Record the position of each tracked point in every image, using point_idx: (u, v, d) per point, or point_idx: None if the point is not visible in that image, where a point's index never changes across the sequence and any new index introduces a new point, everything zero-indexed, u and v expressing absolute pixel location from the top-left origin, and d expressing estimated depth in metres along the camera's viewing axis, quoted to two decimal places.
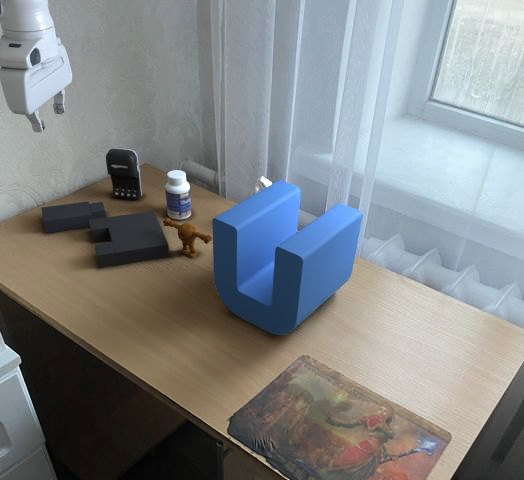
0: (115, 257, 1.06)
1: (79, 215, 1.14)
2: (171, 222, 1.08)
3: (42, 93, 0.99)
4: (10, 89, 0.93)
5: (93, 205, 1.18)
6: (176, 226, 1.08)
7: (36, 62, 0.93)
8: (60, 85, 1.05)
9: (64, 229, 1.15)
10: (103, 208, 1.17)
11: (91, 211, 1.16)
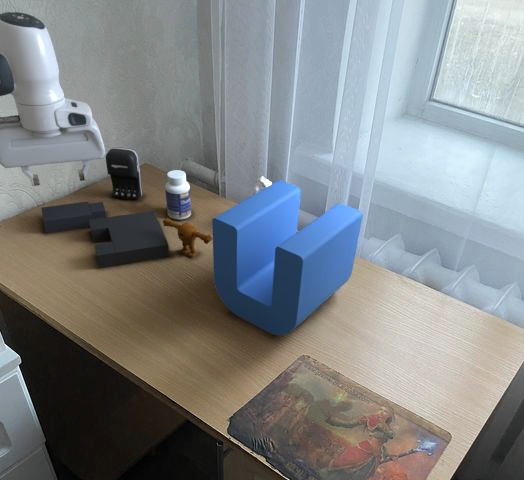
0: (115, 257, 1.06)
1: (79, 215, 1.14)
2: (171, 222, 1.08)
3: None
4: (100, 135, 1.07)
5: (93, 205, 1.18)
6: (176, 226, 1.08)
7: None
8: None
9: (64, 229, 1.15)
10: (103, 208, 1.17)
11: (91, 211, 1.16)
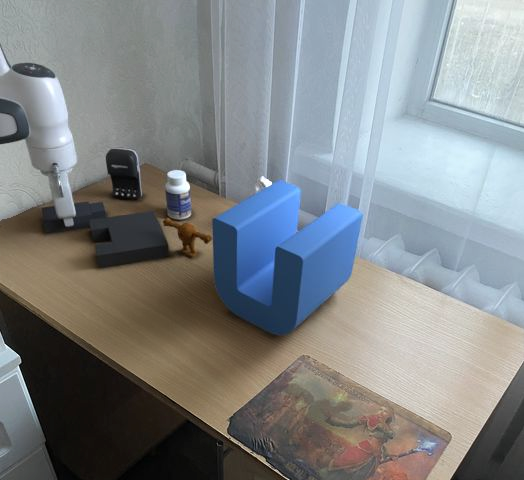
0: (115, 257, 1.06)
1: (79, 215, 1.14)
2: (171, 222, 1.08)
3: None
4: None
5: (93, 205, 1.18)
6: (176, 226, 1.08)
7: None
8: None
9: (64, 229, 1.15)
10: (103, 208, 1.17)
11: (91, 211, 1.16)
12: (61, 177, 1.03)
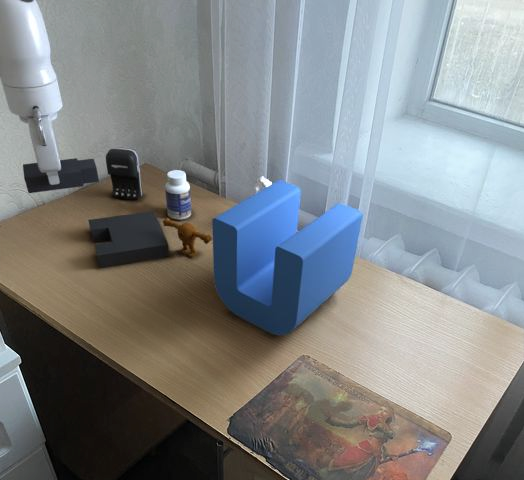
0: (115, 257, 1.06)
1: (66, 172, 0.99)
2: (171, 222, 1.08)
3: None
4: None
5: (82, 161, 1.03)
6: (176, 226, 1.08)
7: None
8: None
9: (49, 188, 1.00)
10: (94, 165, 1.02)
11: (80, 168, 1.01)
12: (43, 122, 0.89)
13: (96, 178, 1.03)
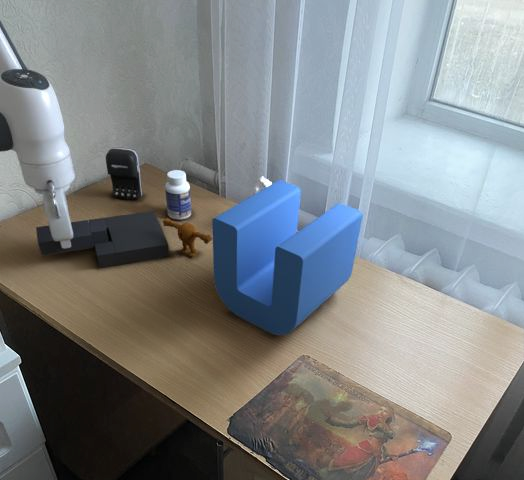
0: (115, 257, 1.06)
1: (77, 236, 1.04)
2: (171, 222, 1.08)
3: None
4: None
5: (93, 224, 1.08)
6: (176, 226, 1.08)
7: None
8: None
9: (61, 251, 1.05)
10: (104, 227, 1.07)
11: (91, 231, 1.06)
12: (57, 196, 0.93)
13: (106, 240, 1.08)
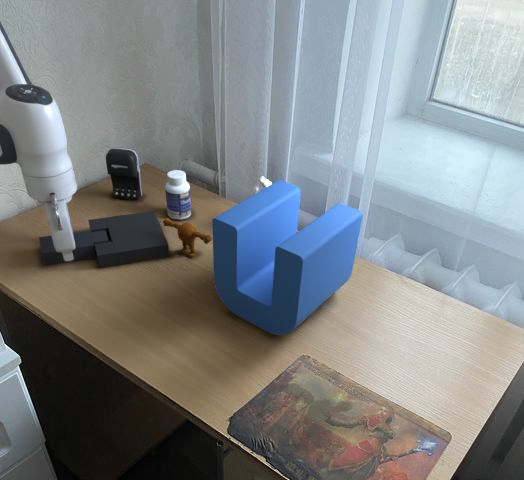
0: (115, 257, 1.06)
1: (80, 246, 1.06)
2: (171, 222, 1.08)
3: None
4: None
5: (95, 234, 1.09)
6: (176, 226, 1.08)
7: None
8: None
9: (64, 261, 1.07)
10: (106, 238, 1.08)
11: (93, 241, 1.07)
12: (59, 208, 0.95)
13: None
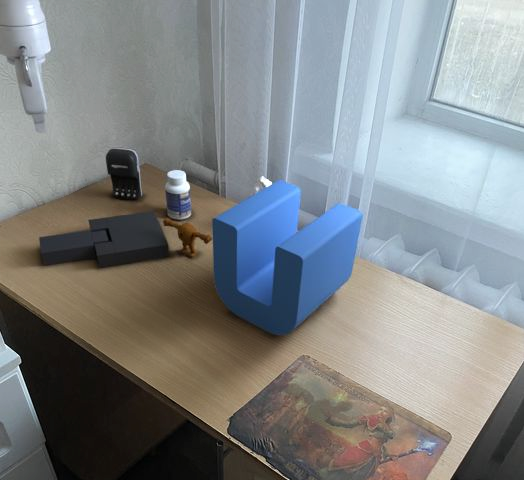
0: (115, 257, 1.06)
1: (80, 246, 1.06)
2: (171, 222, 1.08)
3: None
4: None
5: (95, 234, 1.09)
6: (176, 226, 1.08)
7: None
8: None
9: (64, 261, 1.07)
10: (106, 238, 1.08)
11: (93, 241, 1.07)
12: (29, 63, 0.88)
13: None
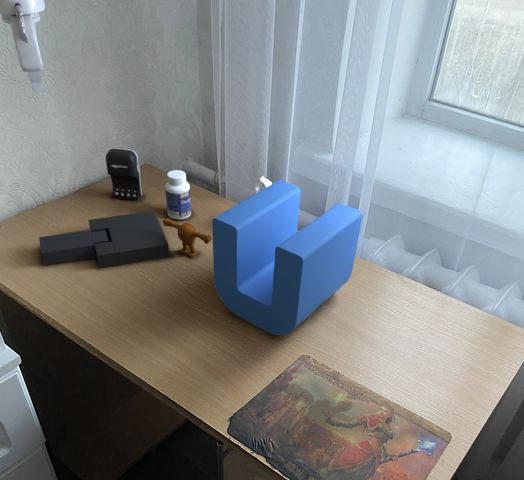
0: (115, 257, 1.06)
1: (80, 246, 1.06)
2: (171, 222, 1.08)
3: None
4: None
5: (95, 234, 1.09)
6: (176, 226, 1.08)
7: None
8: None
9: (64, 261, 1.07)
10: (106, 238, 1.08)
11: (93, 241, 1.07)
12: (25, 19, 0.90)
13: None
